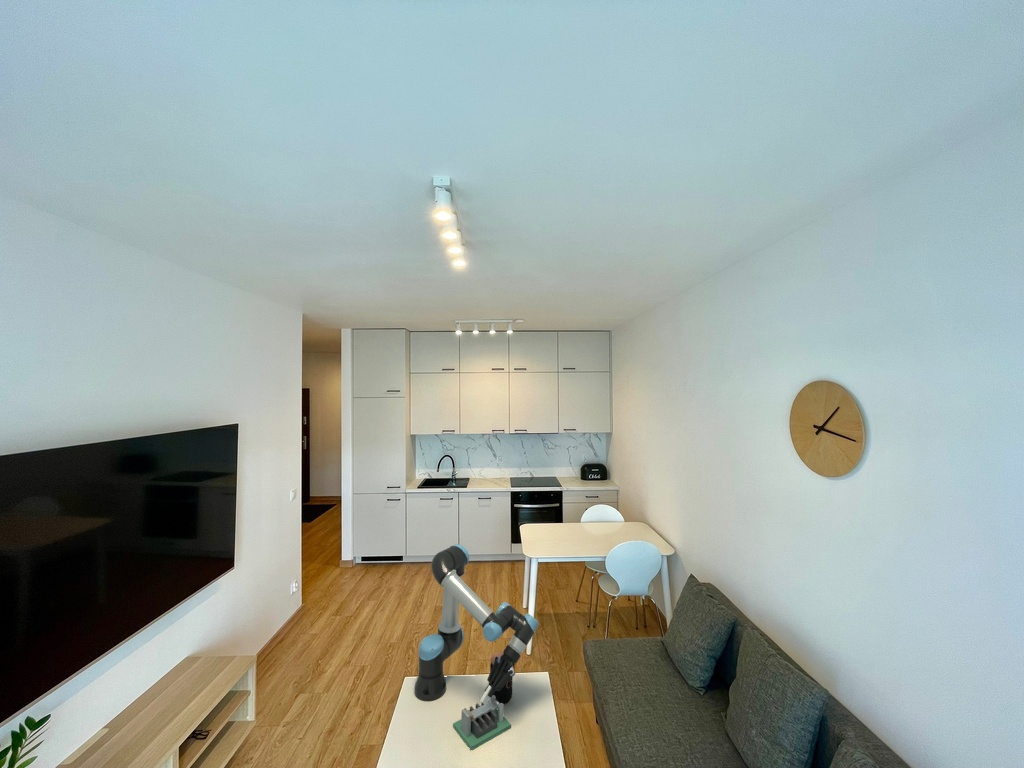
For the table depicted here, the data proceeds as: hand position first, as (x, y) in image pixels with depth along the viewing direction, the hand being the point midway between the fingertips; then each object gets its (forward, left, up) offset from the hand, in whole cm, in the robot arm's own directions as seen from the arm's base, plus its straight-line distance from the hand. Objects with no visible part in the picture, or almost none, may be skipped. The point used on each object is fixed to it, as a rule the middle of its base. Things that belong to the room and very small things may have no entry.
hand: (482, 702), depth 176 cm
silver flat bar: (-1, +1, -4) cm, 5 cm away
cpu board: (-1, 0, -11) cm, 11 cm away
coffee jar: (-11, +17, -11) cm, 23 cm away
